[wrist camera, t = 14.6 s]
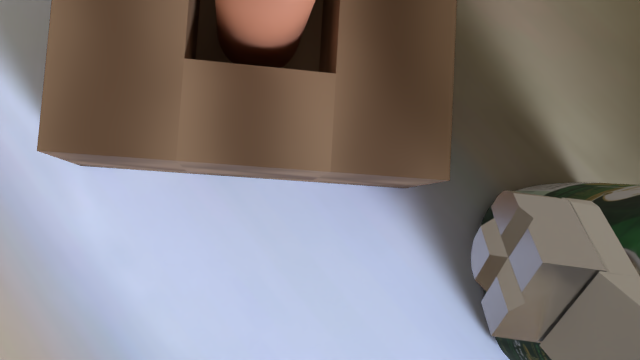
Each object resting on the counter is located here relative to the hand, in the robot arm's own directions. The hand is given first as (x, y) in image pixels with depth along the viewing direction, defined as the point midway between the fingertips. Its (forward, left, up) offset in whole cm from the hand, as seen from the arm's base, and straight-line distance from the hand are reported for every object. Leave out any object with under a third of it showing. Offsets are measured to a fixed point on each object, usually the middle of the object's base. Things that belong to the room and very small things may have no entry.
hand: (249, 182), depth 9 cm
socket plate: (0, -8, -19) cm, 21 cm away
